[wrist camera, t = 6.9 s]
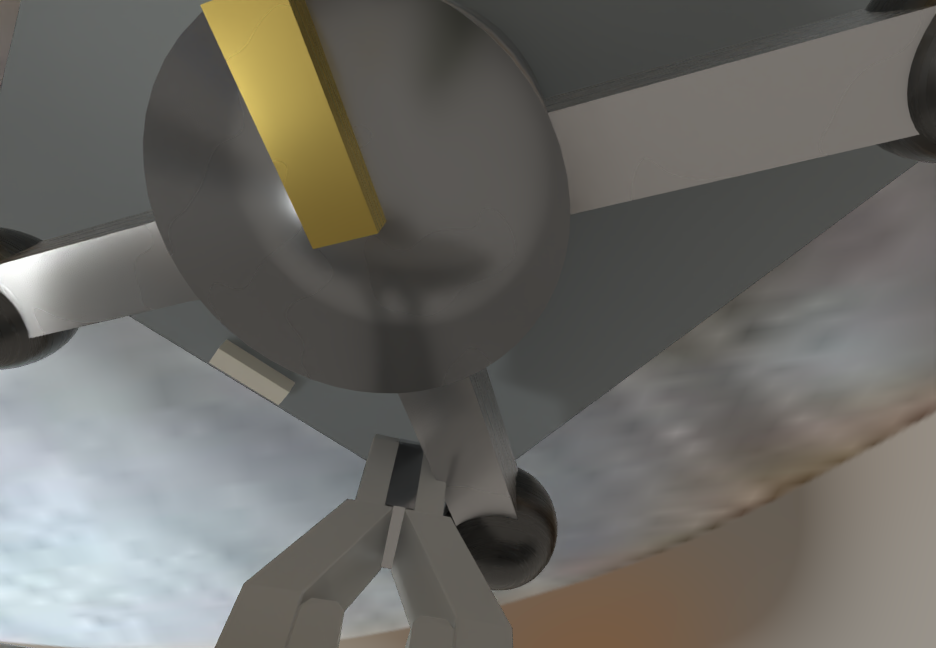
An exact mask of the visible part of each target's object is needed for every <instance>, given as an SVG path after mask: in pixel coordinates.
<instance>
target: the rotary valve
mask: <svg viewBox="0 0 936 648" xmlns="http://www.w3.org/2000/svg"><path fill="white" fill-rule="evenodd" d="M209 1H212V0H21V3H20V8H19V12H18V16H17V20H16V25H15V29H14V33H13V37H12V42H11V46H10V50H9V55H8V59H7V63H6V67H5V72H4V76H3V80H2V84H1V89H0V227H2V228H8V229H13V230H17V231H21V232H24V233H27V234H30V235H32V236H34V237H37V238H39V239H41V240H43V241H44V240H47V239H51V238H54V237H58V236H62V235H65V234H69V233H72V232H76V231H79V230H83V229H86V228H90V227H93V226H97V225H100V224H104V223H107V222H111V221H115V220H118V219H122V218H125V217H129V216H132V215H136V214H139V213H143V212H146V211H150V210H152V208H151V205H150V201H149V198H148V192H147V186H146V180H145V174H144V162H143V135H144V125H145V115H146V111H147V107H148V103H149V99H150V95H151V91H152V87H153V84H154V82H155V80H156V78H157V75H158V73H159V71H160V68H161V66H162V64H163V61H164V59H165V58H166V56H167V55H168V53H169V52H170V50H171V48H172V47H173V45H174V44H175V42H176V41H177V39H178V38H179V36H180V35H181V34H182V33H183V31H184V30H185V29H186V28H187V27H188V26H189V25H190V24H191V23H192V22H193V21H194V20H195V19H196V18H197V17H198V15H199V14H200V13H201V12H203V10H202V8H201V6H200V5H201V4H204V3H206V2H209ZM452 1H454V2H457V3H459V4H462V5H464V6H467V7H468V8H470V9H472V10H474V11H475V12H477V13H479V14H481V15H482V16H484V17H485V18H487V19H488V20H489V21H490V22H492V23H493V24H494V25H495V26H497V27H498V28H499V29H501V30H502V32H503V33H504V34H505V35H506V36H507V37H508V38H509V39H510V40H511V41H512V42H513V43H514V44H515V45H516V47H517V48H518V49H519V51H520V52H521V53H522V55H523V56H524V58H525V59H526V60H527V62H528V64H529V65H530V67H531V69H532V71H533V73H534V75H535V76H536V78H537V81H538V83H539V86H540V88H541V91H542V94H543V96H544V99H546V98H549V97H553V96H556V95H560V94H563V93H567V92H570V91H574V90H577V89H581V88H584V87H588V86H591V85H595V84H599V83H602V82H606V81H609V80H613V79H616V78H620V77H623V76H627V75H630V74H634V73H637V72H641V71H644V70H648V69H651V68H655V67H659V66H662V65H666V64H669V63H673V62H676V61H680V60H683V59H687V58H690V57H694V56H697V55H701V54H704V53H708V52H712V51H715V50H719V49H722V48H726V47H729V46H733V45H736V44H740V43H743V42H747V41H750V40H754V39H757V38H761V37H765V36H768V35H772V34H775V33H779V32H782V31H786V30H789V29H793V28H796V27H800V26H803V25H807V24H810V23H814V22H818V21H821V20H825V19H828V18H832V17H835V16H839V15H842V14H846V13H849V12H853V11H856V10H860V9H863V8H866V7H867V5H868V4H869V3H870V1H871V0H452ZM917 162H919V161H917V160H912V159H908V158H904V157H900V156H898V155H895V154H893V153H890V152H888V151H886V150H884V149H882V148H881V147H879V146H877V145H872V146H867V147H863V148H859V149H854V150H850V151H845V152H841V153H837V154H832V155H828V156H824V157H819V158H815V159H810V160H806V161H802V162H797V163H793V164H789V165H784V166H780V167H776V168H771V169H767V170H762V171H758V172H754V173H749V174H745V175H741V176H736V177H732V178H728V179H723V180H719V181H714V182H710V183H706V184H701V185H697V186H693V187H688V188H684V189H679V190H675V191H671V192H666V193H662V194H658V195H653V196H649V197H645V198H640V199H636V200H631V201H627V202H623V203H618V204H614V205H610V206H605V207H601V208H597V209H592V210H588V211H583V212H579V213H575V214H570V233H569V240H568V245H567V251H566V257H565V261H564V264H563V268H562V271H561V274H560V277H559V280H558V283H557V286H556V288H555V290H554V292H553V294H552V296H551V298H550V300H549V302H548V304H547V306H546V308H545V309H544V311H543V312H542V314H541V315H540V317H539V318H538V320H537V321H536V323H535V324H534V326H533V327H532V328H531V329H530V330H529V331H528V332H527V334H526V335H525V336H524V337H523V338H522V339H521V340H520V341H519V343H518V344H516V345H515V346H514V347H513V348H512V349H511V350H509V351H508V352H507V353H506V354H505V355H504V356H502V357H501V358H500V359H498V360H497V361H495V362H494V363H492V364H491V365H489V366H488V367H486V369H487V372H488V375H489V378H490V382H491V385H492V388H493V391H494V394H495V398H496V401H497V404H498V407H499V410H500V414H501V417H502V420H503V423H504V426H505V429H506V433H507V436H508V439H509V442H510V445H511V449H512V452H513V455H514V458H515V460H516V459H517V458H519V457H520V456H521V455H523V454H524V453H525V452H527V451H528V450H529V449H531V448H532V447H533V446H535V445H536V444H538V443H539V442H540V441H542V440H543V439H544V438H546V437H547V436H548V435H550V434H551V433H552V432H554V431H555V430H556V429H558V428H559V427H561V426H562V425H563V424H565V423H566V422H567V421H569V420H570V419H571V418H573V417H574V416H575V415H577V414H578V413H579V412H581V411H582V410H583V409H585V408H586V407H588V406H589V405H590V404H592V403H593V402H594V401H596V400H597V399H598V398H600V397H601V396H602V395H604V394H605V393H606V392H608V391H609V390H611V389H612V388H613V387H615V386H616V385H617V384H619V383H620V382H621V381H623V380H624V379H625V378H627V377H628V376H629V375H631V374H632V373H634V372H635V371H636V370H638V369H639V368H640V367H642V366H643V365H644V364H646V363H647V362H648V361H650V360H651V359H652V358H654V357H655V356H656V355H658V354H659V353H661V352H662V351H663V350H665V349H666V348H667V347H669V346H670V345H671V344H673V343H674V342H675V341H677V340H678V339H679V338H681V337H682V336H684V335H685V334H686V333H688V332H689V331H690V330H692V329H693V328H694V327H696V326H697V325H698V324H700V323H701V322H702V321H704V320H705V319H707V318H708V317H709V316H711V315H712V314H713V313H715V312H716V311H717V310H719V309H720V308H721V307H723V306H724V305H725V304H727V303H728V302H729V301H731V300H732V299H734V298H735V297H736V296H738V295H739V294H740V293H742V292H743V291H744V290H746V289H747V288H748V287H750V286H751V285H752V284H754V283H755V282H757V281H758V280H759V279H761V278H762V277H763V276H765V275H766V274H767V273H769V272H770V271H771V270H773V269H774V268H775V267H777V266H778V265H780V264H781V263H782V262H784V261H785V260H786V259H788V258H789V257H790V256H792V255H793V254H794V253H796V252H797V251H798V250H800V249H801V248H802V247H804V246H805V245H807V244H808V243H809V242H811V241H812V240H813V239H815V238H816V237H817V236H819V235H820V234H821V233H823V232H824V231H825V230H827V229H828V228H830V227H831V226H832V225H834V224H835V223H836V222H838V221H839V220H840V219H842V218H843V217H844V216H846V215H847V214H848V213H850V212H851V211H853V210H854V209H855V208H857V207H858V206H859V205H861V204H862V203H863V202H865V201H866V200H867V199H869V198H870V197H871V196H873V195H874V194H875V193H877V192H878V191H880V190H881V189H882V188H884V187H885V186H886V185H888V184H889V183H890V182H892V181H893V180H894V179H896V178H897V177H898V176H900V175H901V174H903V173H904V172H905V171H907V170H908V169H909V168H911V167H912V166H913V165H915V164H916V163H917ZM129 316H130V317H132V318H133V319H135V320H136V321H138V322H140V323H141V324H143V325H145V326H146V327H148V328H150V329H151V330H153V331H155V332H156V333H158V334H159V335H161V336H163V337H164V338H166V339H168V340H169V341H171V342H173V343H174V344H176V345H177V346H179V347H181V348H182V349H184V350H186V351H187V352H189V353H191V354H192V355H194V356H196V357H197V358H199V359H200V360H202V361H204V362H205V363H207V364H209V365H210V366H212V367H214V368H215V369H217V370H219V371H220V372H222V373H223V374H225V375H227V376H228V377H230V378H232V379H233V380H235V381H237V382H238V383H240V384H242V385H243V386H245V387H246V388H248V389H250V390H251V391H253V392H255V393H256V394H258V395H260V396H261V397H263V398H265V399H266V400H268V401H269V402H271V403H273V404H274V405H276V406H278V407H279V408H281V409H283V410H284V411H286V412H288V413H289V414H291V415H292V416H294V417H296V418H297V419H299V420H301V421H302V422H304V423H306V424H307V425H309V426H310V427H312V428H314V429H315V430H317V431H319V432H320V433H322V434H324V435H325V436H327V437H329V438H330V439H332V440H333V441H335V442H337V443H338V444H340V445H342V446H343V447H345V448H347V449H348V450H350V451H352V452H353V453H355V454H356V455H358V456H360V457H361V458H363V459H365V460H366V461H367V458H368V454H369V451H370V448H371V444H372V441H373V438H374V436H375V434H380V435H385V436H389V437H394V438H399V439H406V440H410V441H415V442H419V440H418V438H417V436H416V433H415V431H414V429H413V426H412V424H411V422H410V420H409V417H408V415H407V413H406V411H405V408H404V406H403V404H402V401H401V399H400V397H399V395H398V393H370V392H360V391H353V390H348V389H343V388H339V387H334V386H330V385H327V384H324V383H321V382H318V381H314V380H311V379H309V378H306V377H304V376H302V375H299V374H297V373H294V372H292V371H290V370H288V369H286V368H284V367H282V366H280V365H278V364H277V363H275V362H273V361H271V360H269V359H267V358H266V357H264V356H263V355H261V354H260V353H258V352H257V351H255V350H254V349H252V348H251V347H249V346H248V345H247V344H245V343H244V342H243V341H242V340H240V339H239V338H238V337H237V336H235V335H234V334H233V333H232V332H230V331H229V330H228V329H227V328H226V327H225V326H224V325H223V324H222V323H221V322H220V321H219V320H218V319H217V318H216V317H215V316H214V315H213V314H212V313H211V312H210V311H209V310H208V309H207V308H206V307H205V305H204V304H203V303H202V302H201V301H200V299H199V300H195V301H190V302H186V303H182V304H177V305H173V306H169V307H164V308H160V309H156V310H151V311H147V312H142V313H138V314H134V315H129ZM444 503H445V502H444Z"/></svg>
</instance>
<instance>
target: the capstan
mask: <svg viewBox="0 0 936 648" xmlns="http://www.w3.org/2000/svg"><path fill="white" fill-rule="evenodd" d="M200 6H201V8H202V10H203V12H201V13H200V14H199V15H198V17H197V18H196V19H195V20H194V21H193V22H192V23H191V24H190V25H189V26H188V27H187V28H186V29H185V30H184V31H183V33H182V34H181V35H180V36H179V38H178V39H177V41H176V42H175V44H174V45H173V47H172V48H171V50H170V52H169V53H168V55H167V56H166V58H165V59H164V61H163V64H162V66H161V68H160V71H159V73H158V75H157V78H156V80H155V82H154V84H153V87H152V91H151V95H150V99H149V103H148V107H147V111H146V115H145V125H144V135H143V162H144V174H145V180H146V186H147V192H148V198H149V201H150V205H151V208H152V210H150V211H146V212H143V213H139V214H136V215H132V216H129V217H125V218H122V219H118V220H115V221H111V222H107V223H104V224H100V225H97V226H93V227H90V228H86V229H83V230H79V231H76V232H72V233H69V234H65V235H62V236H58V237H54V238H51V239H47V240H44V241H43V240H41V239H39V238H37V237H34V236H32V235H30V234H27V233H24V232H21V231H17V230H13V229H8V228H2V227H0V370H3V369H10V368H16V367H21V366H24V365H28V364H31V363H34V362H37V361H39V360H41V359H44V358H46V357H47V356H49V355H51V354H53V353H54V352H56V351H57V350H59V349H60V348H61V347H62V346H64V345H65V344H66V343H67V342H68V341H69V340H70V339H71V338H72V337H73V335H74V334H75V333H76V332H77V330H78V328H79V327H81V326H86V325H90V324H94V323H99V322H103V321H107V320H112V319H116V318H121V317H125V316H129V315H134V314H138V313H142V312H147V311H151V310H156V309H160V308H164V307H169V306H173V305H177V304H182V303H186V302H190V301H195V300H199V299H200V301H201V302H202V303H203V304H204V305H205V307H206V308H207V309H208V310H209V311H210V312H211V313H212V314H213V315H214V316H215V317H216V318H217V319H218V320H219V321H220V322H221V323H222V324H223V325H224V326H225V327H226V328H227V329H228V330H229V331H230V332H232V333H233V334H234V335H235V336H237V337H238V338H239V339H240V340H242V341H243V342H244V343H245V344H247V345H248V346H249V347H251V348H252V349H254V350H255V351H257V352H258V353H260V354H261V355H263V356H264V357H266V358H267V359H269V360H271V361H273V362H275V363H277V364H278V365H280V366H282V367H284V368H286V369H288V370H290V371H292V372H294V373H297V374H299V375H302V376H304V377H306V378H309V379H311V380H314V381H318V382H321V383H324V384H327V385H330V386H334V387H339V388H343V389H348V390H353V391H360V392H370V393H398V395H399V397H400V399H401V401H402V404H403V406H404V408H405V411H406V413H407V415H408V417H409V420H410V422H411V424H412V426H413V429H414V431H415V433H416V436H417V438H418V440H419V442H420V445H421V447H422V449H423V452H424V454H425V456H426V458H427V461H428V463H429V465H430V468H431V470H432V472H433V474H434V477H435V479H436V480H438V481H442V482H445V483H446V492H445V503H444V512H443V516H447V517H451V519H452V521H453V523H454V524H455V526H456V528H457V530H458V531H459V533H460V535H461V537H462V539H463V540H464V542H465V544H466V546H467V548H468V549H469V551H470V553H471V555H472V557H473V558H474V560H475V562H476V564H477V566H478V567H479V569H480V571H481V573H482V575H483V576H484V578H485V580H486V582H487V584H488V585H489V587H490V589H492V590H509V589H513V588H517V587H520V586H522V585H524V584H526V583H528V582H530V581H531V580H533V579H534V578H535V577H536V576H537V575H538V574H539V573H540V572H541V571H542V570H543V569H544V568H545V566H546V565H547V563H548V562H549V560H550V558H551V556H552V554H553V551H554V548H555V544H556V539H557V518H556V512H555V509H554V506H553V503H552V501H551V499H550V497H549V495H548V493H547V492H546V490H545V489H544V487H543V486H542V485H541V484H540V483H539V482H538V481H537V480H536V479H535V478H534V477H533V476H532V475H530V474H529V473H527V472H525V471H524V470H522V469H520V468H517V465H516V461H515V458H514V455H513V452H512V449H511V445H510V442H509V439H508V436H507V433H506V429H505V426H504V423H503V420H502V417H501V414H500V410H499V407H498V404H497V401H496V398H495V394H494V391H493V388H492V385H491V382H490V378H489V375H488V372H487V369H486V367H488V366H489V365H491V364H492V363H494V362H495V361H497V360H498V359H500V358H501V357H502V356H504V355H505V354H506V353H507V352H508V351H509V350H511V349H512V348H513V347H514V346H515V345H516V344H518V343H519V341H520V340H521V339H522V338H523V337H524V336H525V335H526V334H527V332H528V331H529V330H530V329H531V328H532V327H533V326H534V324H535V323H536V321H537V320H538V318H539V317H540V315H541V314H542V312H543V311H544V309H545V308H546V306H547V304H548V302H549V300H550V298H551V296H552V294H553V292H554V290H555V288H556V286H557V283H558V280H559V277H560V274H561V271H562V268H563V264H564V261H565V257H566V251H567V245H568V240H569V233H570V214H575V213H579V212H583V211H588V210H592V209H597V208H601V207H605V206H610V205H614V204H618V203H623V202H627V201H631V200H636V199H640V198H645V197H649V196H653V195H658V194H662V193H666V192H671V191H675V190H679V189H684V188H688V187H693V186H697V185H701V184H706V183H710V182H714V181H719V180H723V179H728V178H732V177H736V176H741V175H745V174H749V173H754V172H758V171H762V170H767V169H771V168H776V167H780V166H784V165H789V164H793V163H797V162H802V161H806V160H810V159H815V158H819V157H824V156H828V155H832V154H837V153H841V152H845V151H850V150H854V149H859V148H863V147H867V146H872V145H877V146H879V147H881V148H882V149H884V150H886V151H888V152H890V153H893V154H895V155H898V156H900V157H904V158H908V159H912V160H917V161H921V162H929V163H936V0H871V1H870V3H869V4H868V5H867V7H866V8H863V9H860V10H856V11H853V12H849V13H846V14H842V15H839V16H835V17H832V18H828V19H825V20H821V21H818V22H814V23H810V24H807V25H803V26H800V27H796V28H793V29H789V30H786V31H782V32H779V33H775V34H772V35H768V36H765V37H761V38H757V39H754V40H750V41H747V42H743V43H740V44H736V45H733V46H729V47H726V48H722V49H719V50H715V51H712V52H708V53H704V54H701V55H697V56H694V57H690V58H687V59H683V60H680V61H676V62H673V63H669V64H666V65H662V66H659V67H655V68H651V69H648V70H644V71H641V72H637V73H634V74H630V75H627V76H623V77H620V78H616V79H613V80H609V81H606V82H602V83H599V84H595V85H591V86H588V87H584V88H581V89H577V90H574V91H570V92H567V93H563V94H560V95H556V96H553V97H549V98H546V99H544V96H543V94H542V91H541V88H540V86H539V83H538V81H537V78H536V76H535V75H534V73H533V71H532V69H531V67H530V65H529V64H528V62H527V60H526V59H525V58H524V56H523V55H522V53H521V52H520V51H519V49H518V48H517V47H516V45H515V44H514V43H513V42H512V41H511V40H510V39H509V38H508V37H507V36H506V35H505V34H504V33H503V32H502V30H501V29H499V28H498V27H497V26H495V25H494V24H493V23H492V22H490V21H489V20H488V19H487V18H485V17H484V16H482V15H481V14H479V13H477V12H475V11H474V10H472V9H470V8H468V7H467V6H464V5H462V4H459V3H457V2H454V1H452V0H212V1H209V2H206V3H204V4H201V5H200Z"/></svg>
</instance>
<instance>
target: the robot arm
mask: <svg viewBox="0 0 936 648" xmlns="http://www.w3.org/2000/svg"><path fill="white" fill-rule="evenodd" d="M445 492H446V483H445V482H442V481H438V480H436V479H435V477H434V474H433V472H432V470H431V468H430V465H429V463H428V461H427V458H426V456H425V454H424V452H423V449H422V447H421V445H420V442H415V441H410V440H406V439H399V438H394V437H389V436H385V435H380V434H375V436H374V438H373V441H372V444H371V448H370V451H369V454H368V458H367V461H366V465H365V468H364V472H363V475H362V478H361V482H360V485H359V489H358V492H357V496H356V499H355V500H352V499H347V500H346V501H344V502H343V503H342V504H341V505H339V506H338V507H337V508H336V509H335V510H333V511H332V512H331V513H330V514H328V515H327V516H326V517H325V518H324V519H322V520H321V521H320V522H319V523H317V524H316V525H315V526H314V527H312V528H311V529H310V530H309V531H308V532H306V533H305V534H304V535H303V536H301V537H300V538H299V539H298V540H297V541H295V542H294V543H293V544H292V545H290V546H289V547H288V548H287V549H285V550H284V551H283V552H282V553H281V554H279V555H278V556H277V557H276V558H274V559H273V560H272V561H271V562H270V563H268V564H267V565H266V566H265V567H263V568H262V569H261V570H260V571H259V572H257V573H256V574H255V575H254V576H252V577H251V578H250V579H249V580H247V581H246V582H245V583H244V584H243V586H242V589H241V591H240V593H239V595H238V597H237V600H236V602H235V604H234V606H233V608H232V611H231V613H230V615H229V617H228V619H227V622H226V624H225V626H224V628H223V631H222V633H221V635H220V637H219V639H218V642H217V644H216V646H215V648H339V641H340V635H341V629H342V623H343V617H344V612H345V610H346V609H347V608H348V607H349V606H350V605H351V604H352V602H353V601H354V600H355V599H356V598H357V597H358V595H359V594H360V593H361V592H362V591H363V590H364V588H365V587H366V586H367V585H368V584H369V583H370V581H371V580H372V579H373V578H374V577H375V576H376V574H377V573H378V572H379V571H380V569H381V567H383V568H389V569H391V572H392V575H393V578H394V581H395V584H396V587H397V590H398V593H399V596H400V599H401V602H402V604H403V607H404V610H405V613H406V616H407V619H408V622H409V625H410V628H411V630H410V633H409V636H408V640H407V643H406V646H405V648H513V638H512V637H513V634H512V627H511V625H510V623H509V621H508V620H507V618H506V617H505V615H504V612H503V611H502V609H501V607H500V605H499V603H498V602H497V600H496V598H495V596H494V594H493V593H492V591H491V589H490V587H489V585H488V584H487V582H486V580H485V578H484V576H483V575H482V573H481V571H480V569H479V567H478V566H477V564H476V562H475V560H474V558H473V557H472V555H471V553H470V551H469V549H468V548H467V546H466V544H465V542H464V540H463V539H462V537H461V535H460V533H459V531H458V530H457V528H456V526H455V524H454V523H453V521H452V519H451V517H447V516H443V512H444V502H445ZM0 648H30V647H23V646H17V645H10V644H4V643H0Z"/></svg>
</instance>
